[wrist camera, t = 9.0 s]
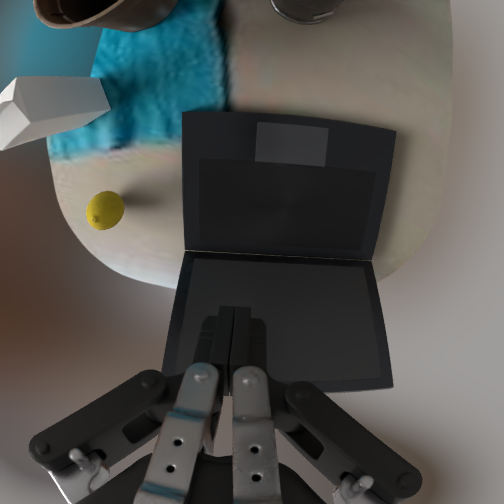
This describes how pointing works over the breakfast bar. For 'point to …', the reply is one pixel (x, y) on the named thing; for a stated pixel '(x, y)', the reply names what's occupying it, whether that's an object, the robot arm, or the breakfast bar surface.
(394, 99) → the breakfast bar surface
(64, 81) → the milk
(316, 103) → the breakfast bar surface
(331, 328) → the laptop screen
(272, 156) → the laptop
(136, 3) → the plant pot
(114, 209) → the lemon
